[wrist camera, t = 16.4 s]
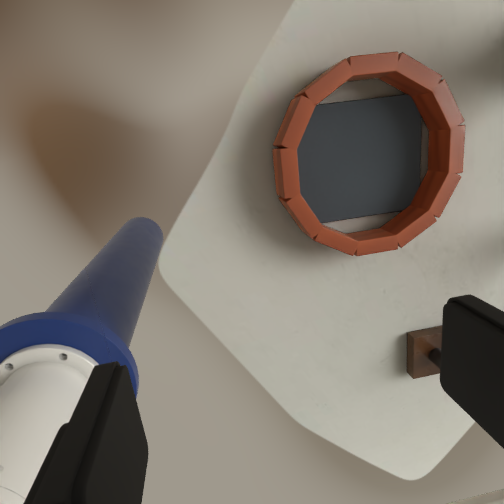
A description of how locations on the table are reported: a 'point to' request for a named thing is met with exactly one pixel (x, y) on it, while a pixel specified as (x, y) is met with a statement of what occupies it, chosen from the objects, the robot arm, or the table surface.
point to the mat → (360, 157)
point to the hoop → (439, 150)
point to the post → (424, 352)
